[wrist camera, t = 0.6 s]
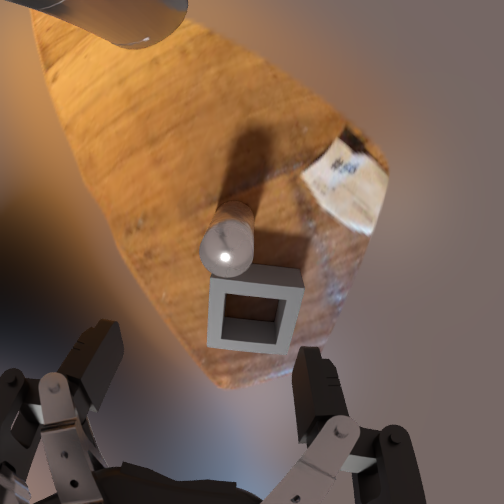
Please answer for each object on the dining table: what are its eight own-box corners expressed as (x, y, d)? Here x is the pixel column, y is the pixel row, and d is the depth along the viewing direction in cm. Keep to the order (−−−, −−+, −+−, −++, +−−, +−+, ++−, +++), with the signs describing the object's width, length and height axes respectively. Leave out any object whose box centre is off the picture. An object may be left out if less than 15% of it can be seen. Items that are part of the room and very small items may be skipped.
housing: (215, 259, 29) (210, 277, 26) (299, 268, 30) (305, 288, 26) (211, 324, 33) (206, 346, 29) (284, 332, 33) (286, 354, 30)
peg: (216, 198, 27) (200, 224, 19) (256, 203, 27) (256, 231, 20) (212, 236, 28) (198, 273, 21) (251, 241, 28) (250, 280, 21)
